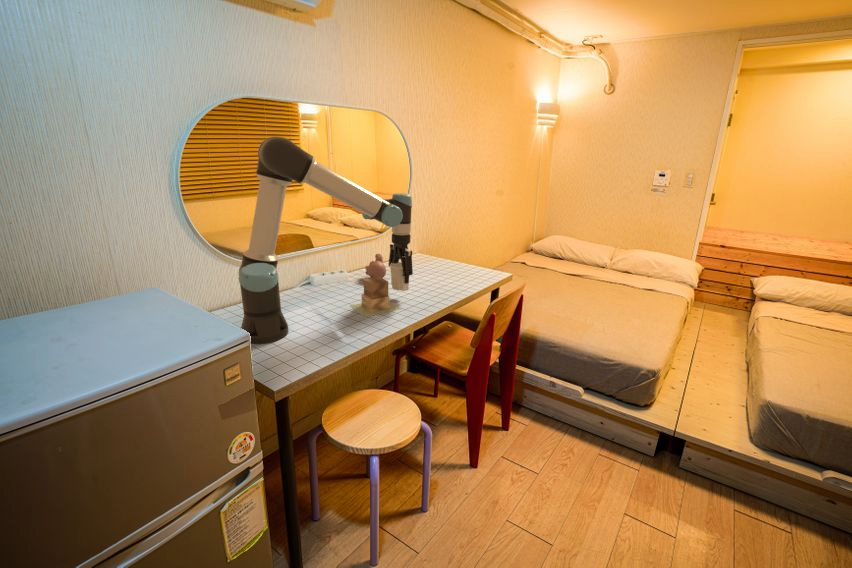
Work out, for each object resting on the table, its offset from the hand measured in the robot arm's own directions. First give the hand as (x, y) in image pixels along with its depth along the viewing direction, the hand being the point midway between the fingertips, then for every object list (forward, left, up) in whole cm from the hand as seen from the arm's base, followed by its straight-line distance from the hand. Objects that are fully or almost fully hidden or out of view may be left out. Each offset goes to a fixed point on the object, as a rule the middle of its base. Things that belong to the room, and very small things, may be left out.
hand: (399, 287), depth 171 cm
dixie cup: (0, 0, -1) cm, 1 cm away
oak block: (-13, -4, -5) cm, 15 cm away
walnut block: (-13, -4, 0) cm, 14 cm away
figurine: (+5, +31, -6) cm, 32 cm away
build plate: (-13, -4, -6) cm, 15 cm away
